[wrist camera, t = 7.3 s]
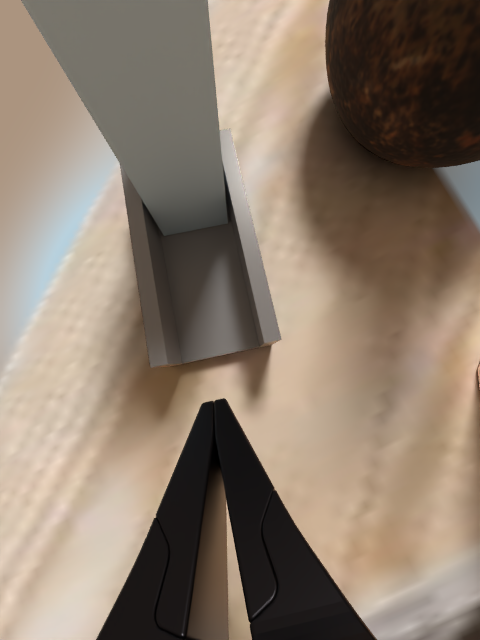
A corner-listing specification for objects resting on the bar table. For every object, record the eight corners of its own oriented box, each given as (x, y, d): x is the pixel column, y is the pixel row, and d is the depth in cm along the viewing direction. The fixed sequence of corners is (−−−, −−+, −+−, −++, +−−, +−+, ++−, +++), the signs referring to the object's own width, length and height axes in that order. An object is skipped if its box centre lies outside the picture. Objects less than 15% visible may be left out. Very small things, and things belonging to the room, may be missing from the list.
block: (228, 223, 19) (194, -146, 5) (164, 236, 19) (-47, -112, 5) (215, 167, 20) (157, -279, 6) (154, 179, 20) (-50, -253, 6)
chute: (271, 344, 18) (281, 339, 14) (171, 366, 18) (150, 367, 14) (232, 176, 21) (230, 128, 16) (143, 193, 20) (117, 149, 16)
